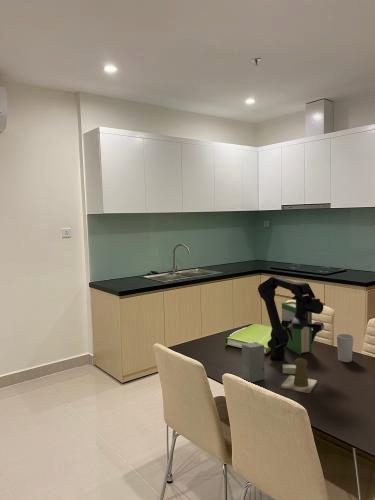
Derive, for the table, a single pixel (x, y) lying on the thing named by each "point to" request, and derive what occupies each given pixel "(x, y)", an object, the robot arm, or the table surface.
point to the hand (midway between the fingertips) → (302, 342)
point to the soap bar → (289, 369)
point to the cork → (301, 373)
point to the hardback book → (297, 330)
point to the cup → (345, 347)
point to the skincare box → (253, 362)
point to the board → (290, 385)
